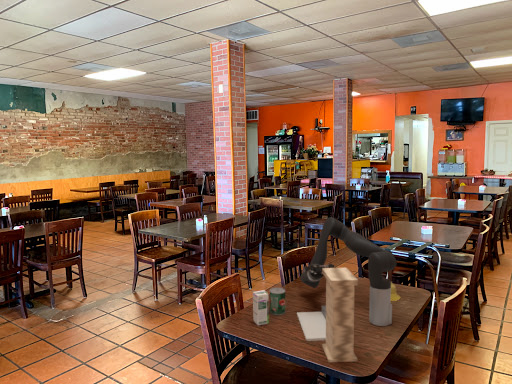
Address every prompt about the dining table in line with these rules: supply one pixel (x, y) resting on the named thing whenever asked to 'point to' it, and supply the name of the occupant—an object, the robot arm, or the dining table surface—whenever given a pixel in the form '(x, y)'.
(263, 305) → the syrup box
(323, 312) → the dark grey block
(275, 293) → the canned tomato
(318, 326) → the off-white board
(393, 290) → the handbell
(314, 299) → the dining table surface
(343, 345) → the birch stand
